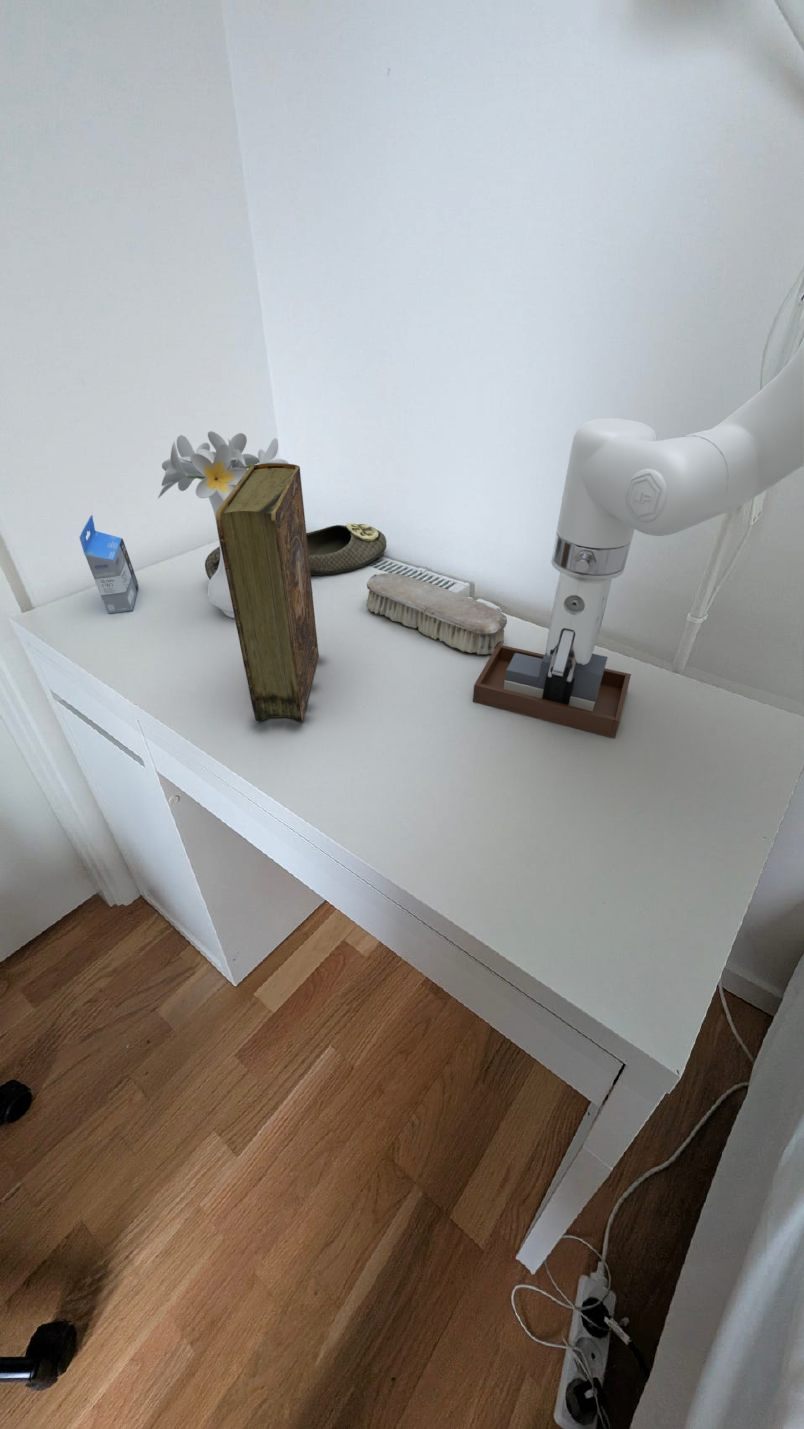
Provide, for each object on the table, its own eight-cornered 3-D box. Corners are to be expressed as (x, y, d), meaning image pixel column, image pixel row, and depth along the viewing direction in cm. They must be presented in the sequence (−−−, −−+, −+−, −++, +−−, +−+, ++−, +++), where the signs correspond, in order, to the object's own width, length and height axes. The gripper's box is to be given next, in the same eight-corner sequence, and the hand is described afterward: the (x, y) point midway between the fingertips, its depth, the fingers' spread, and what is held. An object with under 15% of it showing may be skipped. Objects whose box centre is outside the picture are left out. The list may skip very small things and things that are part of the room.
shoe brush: (354, 610, 90) (353, 580, 87) (385, 592, 95) (385, 564, 91) (485, 664, 78) (489, 632, 75) (513, 642, 83) (518, 611, 80)
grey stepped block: (597, 693, 72) (607, 656, 69) (592, 713, 69) (602, 675, 66) (512, 672, 76) (517, 636, 72) (503, 690, 73) (508, 654, 69)
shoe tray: (625, 690, 74) (631, 673, 72) (614, 738, 67) (620, 721, 65) (495, 660, 79) (497, 644, 78) (472, 701, 72) (474, 684, 70)
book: (280, 651, 81) (252, 462, 65) (319, 651, 81) (301, 463, 65) (256, 726, 68) (213, 514, 52) (302, 727, 68) (274, 515, 52)
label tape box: (133, 611, 89) (108, 534, 82) (105, 614, 89) (77, 536, 81) (139, 586, 96) (117, 512, 88) (113, 589, 95) (88, 514, 88)
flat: (399, 563, 104) (399, 521, 99) (216, 601, 92) (206, 556, 87) (373, 541, 111) (372, 502, 107) (202, 574, 100) (192, 531, 95)
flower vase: (314, 595, 94) (297, 427, 78) (230, 645, 82) (191, 458, 66) (255, 575, 99) (229, 415, 84) (169, 620, 87) (119, 442, 72)
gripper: (615, 592, 53) (576, 741, 65) (636, 529, 65) (600, 664, 77) (535, 577, 56) (511, 723, 67) (569, 519, 68) (544, 651, 79)
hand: (559, 690), depth 72 cm, fingers closed on grey stepped block, 4 cm apart
